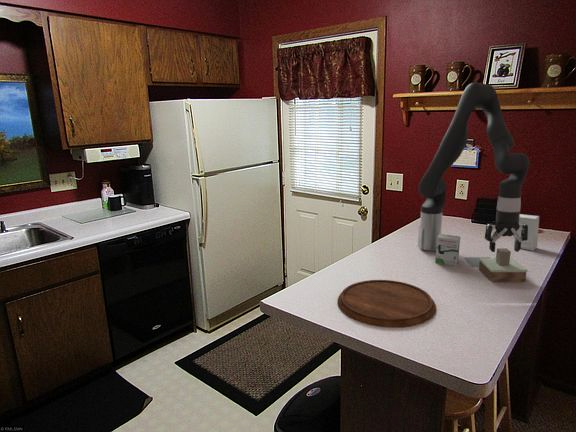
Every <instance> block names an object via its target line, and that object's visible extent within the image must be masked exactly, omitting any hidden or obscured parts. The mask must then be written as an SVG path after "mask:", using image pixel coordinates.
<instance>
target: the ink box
mask: <svg viewBox="0 0 576 432" xmlns="http://www.w3.org/2000/svg"><path fill="white" fill-rule="evenodd" d="M460 245H461V236H459V235H451V234H443V233H441V234H439V235H438V237H437V245H436V251H435V259H434V260H435V261H434V262H435V264H440V265H447V266H448V265H449V266H450V265H451V266H455V267H457V266H458V263H459V255H460V247H461V246H460Z"/></svg>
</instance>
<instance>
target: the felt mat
mask: <svg viewBox="0 0 576 432" xmlns="http://www.w3.org/2000/svg"><path fill="white" fill-rule="evenodd" d="M462 258H463V259H464V261H466V262H467V263H468V265H470V266H471V268H479V262H480V261H479V258H491V256H481V257H479V256H478V257H477V256H475V257H474V256H471V257H470V256H469V257H467V256H465V257H464V256H463V257H462Z"/></svg>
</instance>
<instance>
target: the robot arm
mask: <svg viewBox="0 0 576 432" xmlns="http://www.w3.org/2000/svg"><path fill="white" fill-rule="evenodd" d="M474 109H479V110H482V111H483V112H484V115H485V116H486V118H487V125H486V134H487V138H488V141H489V143H490V145H491V147H492V149H493V154H494V163H495V165H494V166H495V168H496V169H497V171H498V172H499V173H501V174H502V175H509V177H508V178H505V179H504V180H502V181H500V183H499V189H498V196H497V197H498V198H497V203H496V204H497V205H496V214H495V223H494V224H490V223H486V224H485V225H486V226H485V232H484V233H485V234H484V240H486V241H487V242H489V248H488V249H489V250H490V251H491V252H492V253H495V252H496V242H497V240H498V239H500V238H501V237H514V238H515V239H516V241H515V247H514V246H513V249H514V252H515V253H518V252H520V251H521V250H522V249H521V242H522V241H524V240H525V241H526V240H527V239H528V225H526V224H524V223H522V224H519V218H520V214H521V207H522V205H521V204H522V203H521V202H522V201H521V199H522V198H521V197H522V186H523V184H524V182H525V179H526V177H527V173H528V171H529V169H530V159H529V157H528V155H527V154H525V153H523V152H516V153H515V152H514V153H509V152H510V151H511V150H512V149H513V148H515V141H514V138H513V136H512V134H511V132H510V130H509V128H508V125H507V124H506V121H505V118H504V115H503V110H502V108H501V105H500V100H499V96H498V93H497V91H496V88H495V87H494V86H493V85H491V84H487V83H481V82H471V83H469V84H468V85H466V87H465V89H464V90H463V92H462V94H461V97H460V99H459V102H458V105H457V107H456V109H455V112H454V115H453V117H452V120H451V122H450V124H449V126H448V128H447V129H446V130H447V131H446V133H445V134H444V136H443V138H442V140H441V142H440V144H439V147H438V148H437V150H436V153H435V155H434V156H433V159H432V161H431V163H430V165H429V167H428V168H427V170H426V172H425V173H424V175H423V176H422V177H421V179H420V181H419V184H418V192H419V195H420V197H422V198H424V199H426V200H425V201H424V202H423V203H422V205H421V207H420V222H419V223H420V225H419V227H418V237H417V239H418V240H417V246H418V248H419V249H420V250H421V251H425V252H429V251H430V252H436V245H437V237H438V235H439V234H442V226H443V223H442V222H443V209H444V208H445V204H446V198H447V190H448V189H447V188H448V187H447V182H446V179H444V178H443V177H444V175H445V174H446V172H447V171H448V170H449V169H450V167H452V166H453V164H455V162H457V160H458V159H459V157H460V156H461V155H462V153H463V151H464V149H465V147H466V146H467V144H468V141H469V132H468V131H469V128H468V127H469V126H468V123H469V120H470V117H471V115H472V113H473V111H474ZM519 228H520V229H521V237H520V236H519V235H518V233H517V232H516V231H517V230H518V229H519ZM494 229H495V231H494ZM493 231H494V232H493Z"/></svg>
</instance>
